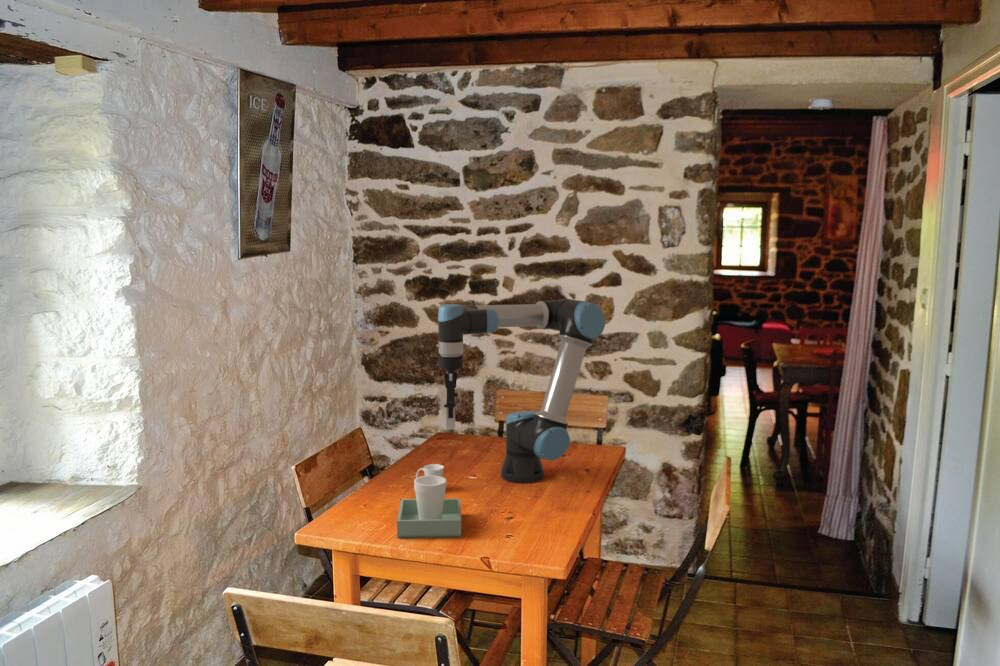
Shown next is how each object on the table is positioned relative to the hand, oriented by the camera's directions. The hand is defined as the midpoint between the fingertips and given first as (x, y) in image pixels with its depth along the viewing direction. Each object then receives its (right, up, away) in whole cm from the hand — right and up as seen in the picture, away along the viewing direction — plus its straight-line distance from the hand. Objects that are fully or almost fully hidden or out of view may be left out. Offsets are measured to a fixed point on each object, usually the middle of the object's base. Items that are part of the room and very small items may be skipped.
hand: (450, 422), depth 250 cm
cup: (-8, -25, +18) cm, 32 cm away
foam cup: (-5, -28, -13) cm, 32 cm away
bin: (-5, -29, -13) cm, 32 cm away
